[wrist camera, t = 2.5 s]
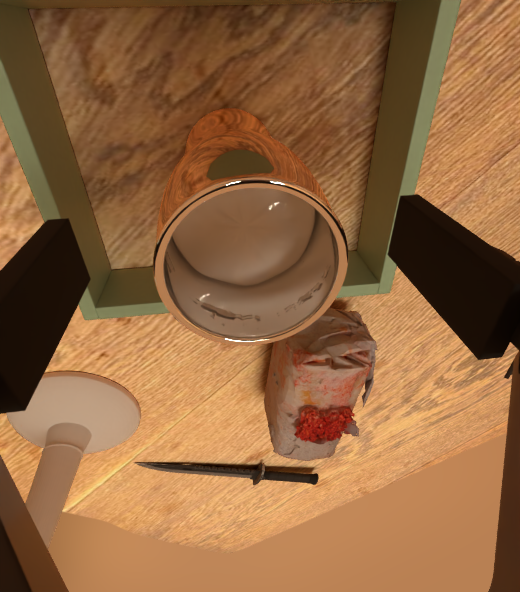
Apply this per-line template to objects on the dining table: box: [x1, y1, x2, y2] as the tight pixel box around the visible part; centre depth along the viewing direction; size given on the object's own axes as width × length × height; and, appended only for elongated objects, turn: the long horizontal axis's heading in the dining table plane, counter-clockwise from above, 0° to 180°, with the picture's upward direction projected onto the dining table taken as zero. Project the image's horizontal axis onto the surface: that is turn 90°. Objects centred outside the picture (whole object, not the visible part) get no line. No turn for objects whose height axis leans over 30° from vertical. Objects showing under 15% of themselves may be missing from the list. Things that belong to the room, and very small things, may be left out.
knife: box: [135, 463, 318, 485], centre depth 47 cm, size 25×2×5 cm
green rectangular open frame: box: [0, 0, 461, 320], centre depth 22 cm, size 18×22×5 cm
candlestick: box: [6, 371, 141, 549], centre depth 25 cm, size 13×13×30 cm
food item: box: [264, 307, 377, 461], centre depth 32 cm, size 14×8×10 cm, turn 174°
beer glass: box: [153, 108, 348, 346], centre depth 18 cm, size 7×7×15 cm
